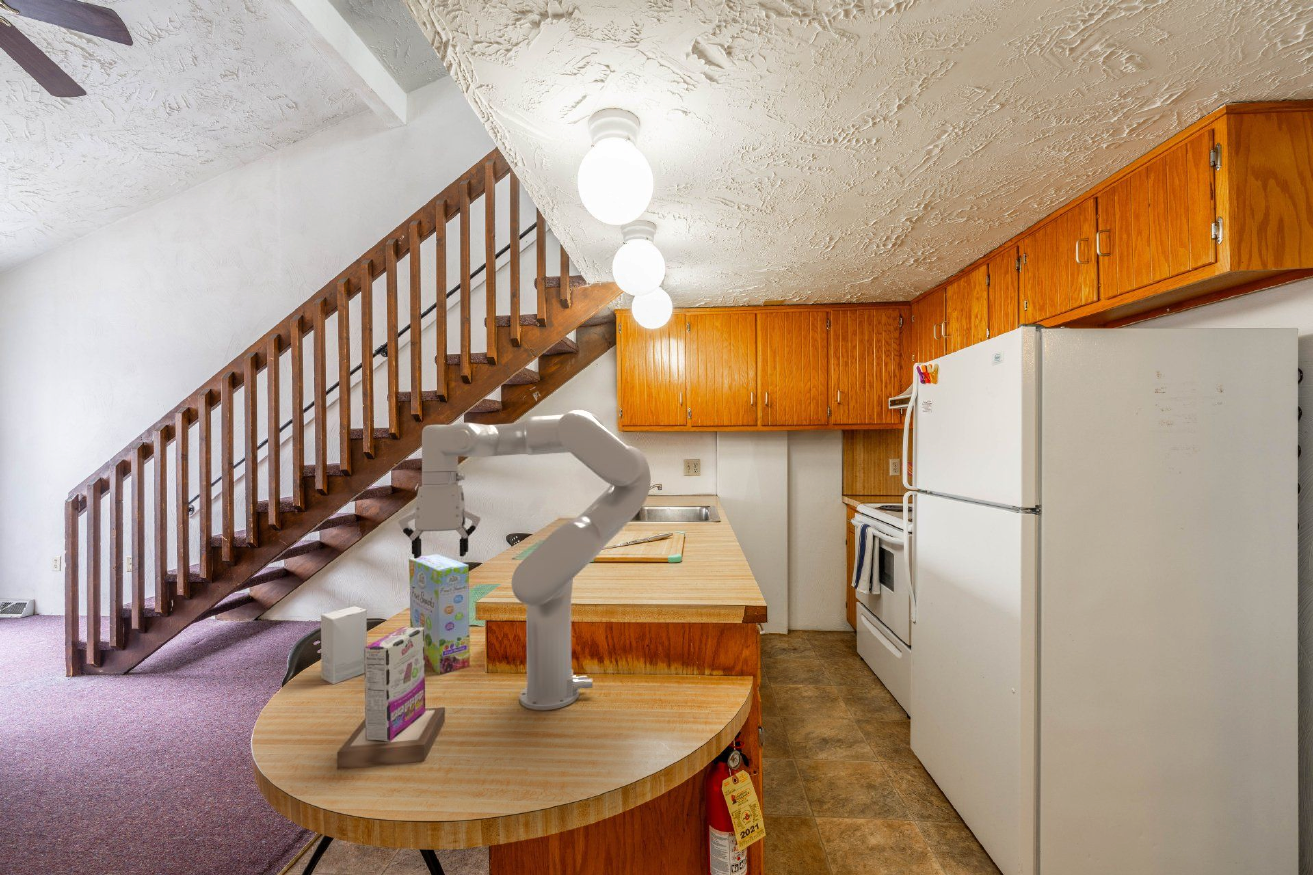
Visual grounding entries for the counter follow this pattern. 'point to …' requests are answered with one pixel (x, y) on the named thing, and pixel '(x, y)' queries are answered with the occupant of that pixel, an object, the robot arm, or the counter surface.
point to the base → (393, 743)
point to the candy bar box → (394, 683)
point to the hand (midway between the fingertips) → (440, 556)
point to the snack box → (441, 610)
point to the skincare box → (343, 644)
